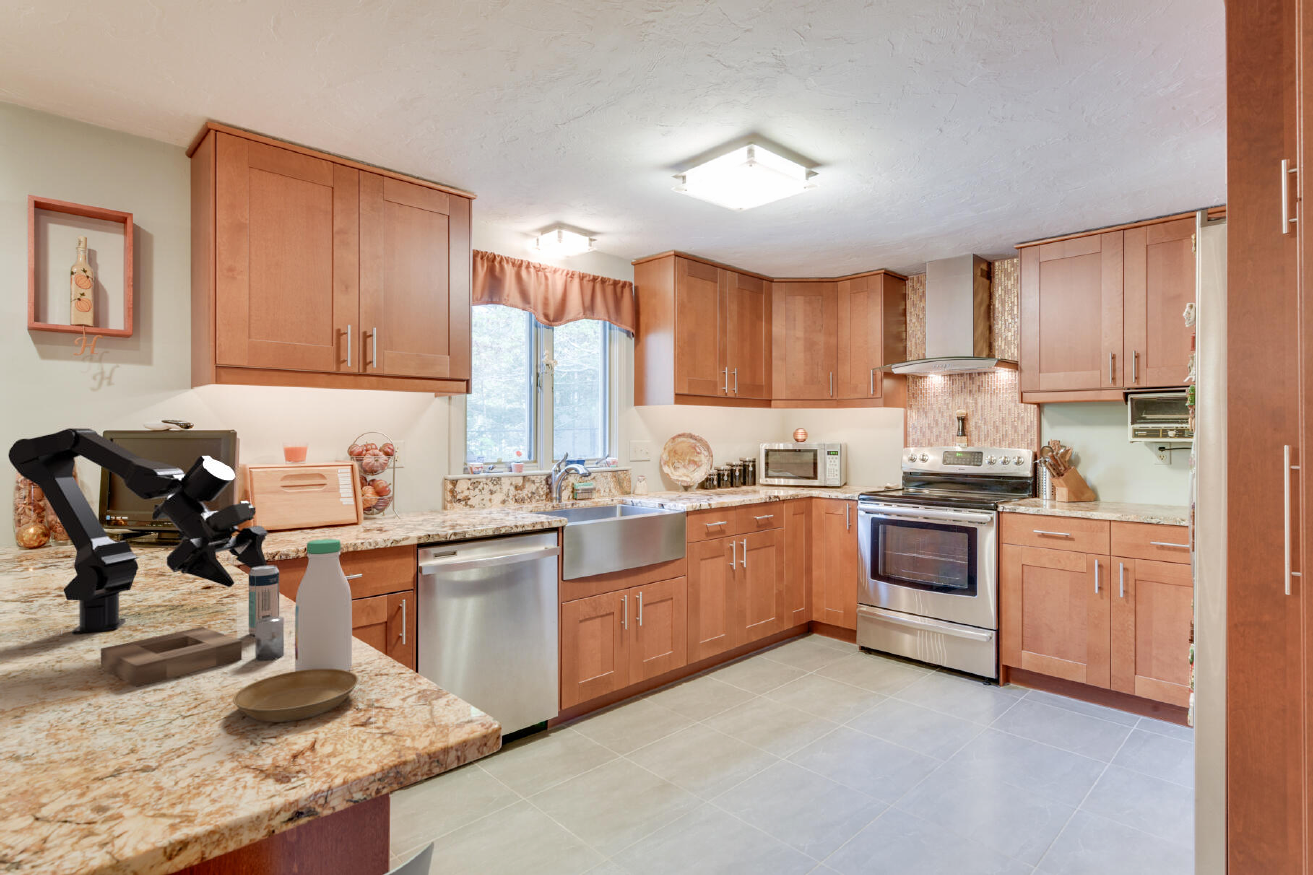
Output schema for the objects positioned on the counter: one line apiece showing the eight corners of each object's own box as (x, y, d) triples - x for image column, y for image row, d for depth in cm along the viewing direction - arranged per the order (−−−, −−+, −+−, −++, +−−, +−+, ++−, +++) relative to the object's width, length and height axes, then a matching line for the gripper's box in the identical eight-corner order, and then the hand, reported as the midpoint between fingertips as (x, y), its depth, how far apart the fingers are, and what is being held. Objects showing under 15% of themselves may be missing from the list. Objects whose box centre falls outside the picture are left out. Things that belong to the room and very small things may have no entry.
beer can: (285, 629, 123) (285, 565, 123) (267, 637, 118) (267, 570, 118) (260, 628, 123) (260, 564, 123) (242, 636, 118) (242, 569, 118)
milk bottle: (363, 666, 103) (363, 538, 103) (323, 684, 95) (323, 546, 95) (324, 661, 105) (324, 536, 105) (282, 677, 98) (282, 543, 98)
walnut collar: (100, 667, 102) (100, 648, 102) (202, 644, 114) (202, 626, 114) (136, 686, 95) (136, 665, 95) (241, 659, 106) (241, 640, 106)
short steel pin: (256, 654, 108) (256, 618, 108) (284, 651, 110) (284, 615, 110) (254, 662, 105) (254, 624, 105) (283, 658, 107) (282, 621, 107)
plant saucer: (211, 712, 86) (211, 692, 86) (322, 678, 98) (322, 660, 98) (267, 741, 78) (267, 719, 78) (380, 700, 90) (380, 681, 90)
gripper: (181, 492, 112) (242, 557, 111) (258, 484, 131) (311, 540, 130) (139, 538, 113) (199, 604, 112) (221, 524, 131) (274, 580, 130)
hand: (250, 579), depth 121 cm, fingers open, 9 cm apart
